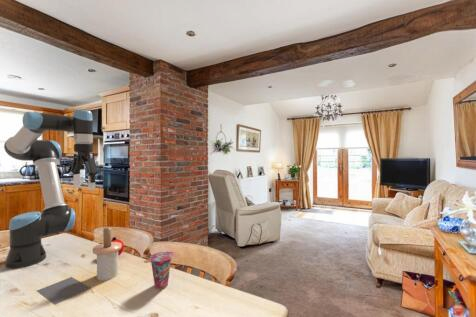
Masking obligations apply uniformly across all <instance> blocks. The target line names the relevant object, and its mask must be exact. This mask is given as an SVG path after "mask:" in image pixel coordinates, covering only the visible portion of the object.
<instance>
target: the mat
mask: <svg viewBox="0 0 476 317" xmlns="http://www.w3.org/2000/svg"><path fill="white" fill-rule="evenodd" d="M90 289H91V287H90V286H88V285H87V284H84V283H83V282H81V281H79V280H77V279H76V278H74V277H73V276H70V277H68V278H65V279H63V280H61V281H57V282H55V283H53V284H50V285H47V286H44V287H42V288H40V289H36V292H37V293H39V294H40V295H41V296H43V297H44V298H46V299H47V300H48V301H49V302H51V303H52V304H53V305H58V304H60V303H62V302H65V301H66V300H68V299H71V298H73V297H75V296H77V295H79V294H82V293H83V292H86V291H88V290H90Z"/></svg>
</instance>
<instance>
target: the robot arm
mask: <svg viewBox="0 0 476 317" xmlns="http://www.w3.org/2000/svg"><path fill="white" fill-rule="evenodd" d="M93 121H94V119H93V113H92V111H90V110H86V109H75V110H73V114H72V115H63V114H62V115H61V114H55V113H54V114H52V113H45V112H38V111H26V112H25V113H23V116H22V125H23V126H21V128H19V130H18V131H17V132H16V133H15V134H14V135H13V136H11V137H8V138H7V140H5V142H4V147H3V148H4V151H5V153H6V154H7V156H9V157H11V158H12V159H15V160H18V161H26V162H28V161H31V162H32V164H33V166H35V167H37V172H38V177H39V181H40V188H41V192H42V197H43V202H44V208H43V209H42V210H41V211H30V212H25V213H21V214H17V215H15V216H14V217H12V218H11V219H10V220H9V227H8V230H9V233H8V234H9V249H8V250H9V251H8V252H7V255H6V258H5V261H4V266H5V268H7V269H19V268H26V267H29V266H33V265H36V264H38V263H41V262H43V261H44V260H45V259H46V258H47V252H46V249H45V247H44V246H43V243H42V237H45V236H46V237H47V236H50V235H51V236H52V235H54V234H58V233H63V232H67V231H70V230H72V229H73V228H74V226H75V224H76V212H75V210H74V208H70V206H69V204H67V203H66V202H65V199H64V194H63V189H62V184H61V181H60V180H61V179H60V175H59V170H58V163H59V162H60V160H61V158H62V154H63V152H62V148H61V145H60V144H59V143H58V142H57V141H56V140H51V139H39V138H40V137H42V135H43V134H44V133H46V131H52V132H53V131H54V132H66V133H73V136H72V138H73V143H74V144H73V152H74V154H73V159H72V160H73V161H72V164H71V167H70V168H71V169H70V173H71V174H73V176H72V177H73V188H74V189H76V188H77V189H78V188H81V186H82V185H81V184H82V183H81V171H82V168H83V165H84V166H85V169H86V172H88V174H87V186H88V188H87V189H88V191H94V190H96V176H97V175H99V171H98V167H97V163H96V159H95V154H94V153H93V151H94V144H93V143H94V136H93V131H94V130H93V126H94V125H93V123H94V122H93Z"/></svg>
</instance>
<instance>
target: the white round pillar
mask: <svg viewBox="0 0 476 317" xmlns="http://www.w3.org/2000/svg"><path fill="white" fill-rule="evenodd" d="M119 274H120V273H119V256H118V251H116V252H114V253H110V254H105V255H97V254H96V278H97V280H98V281H109V280H112V279H115V278H116V277H117V276H118V275H119Z"/></svg>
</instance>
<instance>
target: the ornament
mask: <svg viewBox="0 0 476 317" xmlns="http://www.w3.org/2000/svg"><path fill="white" fill-rule="evenodd" d="M111 242H120V243H121V244H122V248H121V249H120V250H119V251H118V257H119V256H120V255H121V254H122V253H124V250H125V245H124V242H123V241H122V240H121V239H119V238H117V237H115V236H114V237H111Z"/></svg>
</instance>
